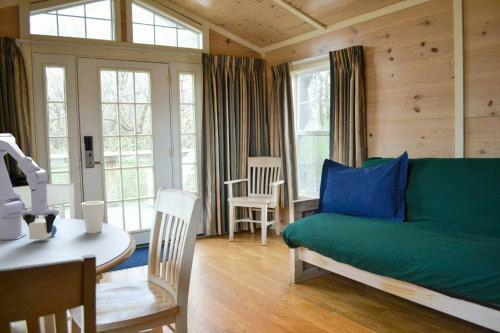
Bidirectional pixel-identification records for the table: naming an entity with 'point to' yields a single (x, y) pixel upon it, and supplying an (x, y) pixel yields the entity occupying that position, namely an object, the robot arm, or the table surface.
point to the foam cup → (93, 215)
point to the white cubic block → (38, 230)
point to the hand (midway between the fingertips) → (40, 232)
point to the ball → (53, 230)
